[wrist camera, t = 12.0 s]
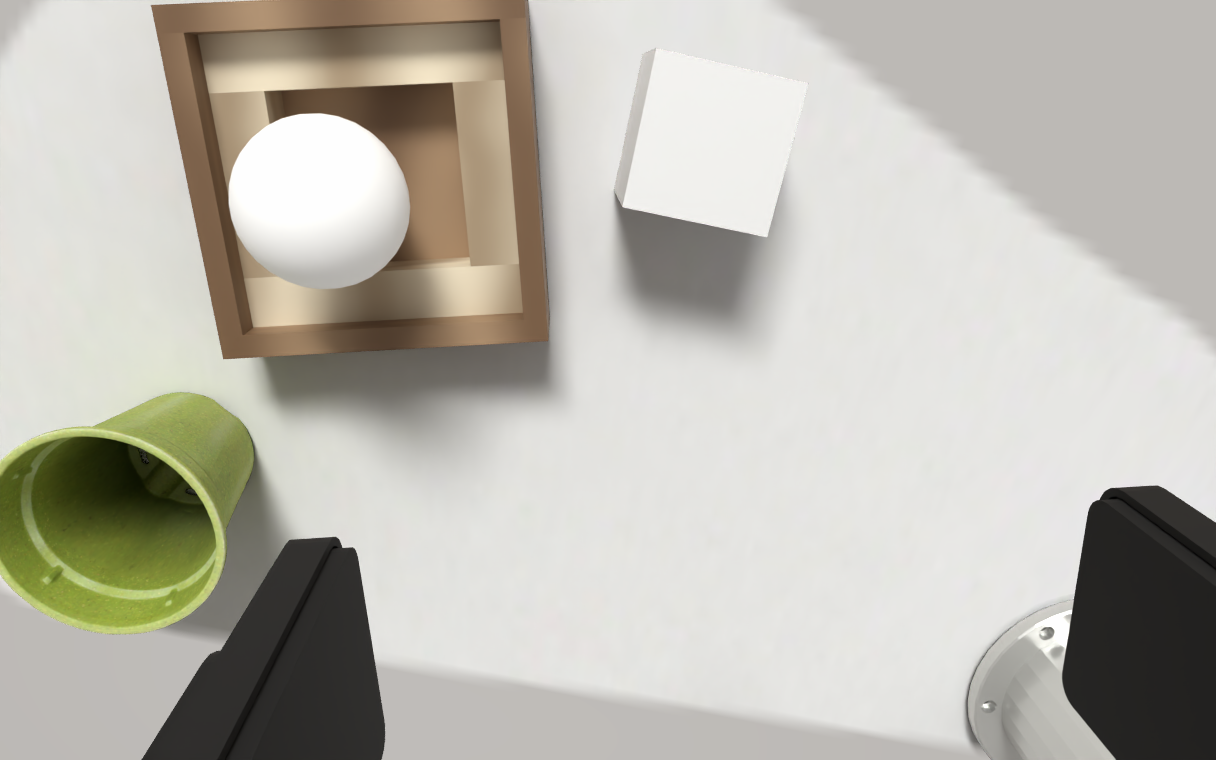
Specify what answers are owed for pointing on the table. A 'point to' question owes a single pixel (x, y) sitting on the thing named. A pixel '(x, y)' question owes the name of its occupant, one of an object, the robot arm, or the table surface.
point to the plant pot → (124, 514)
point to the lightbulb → (319, 201)
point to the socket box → (411, 130)
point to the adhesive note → (708, 141)
